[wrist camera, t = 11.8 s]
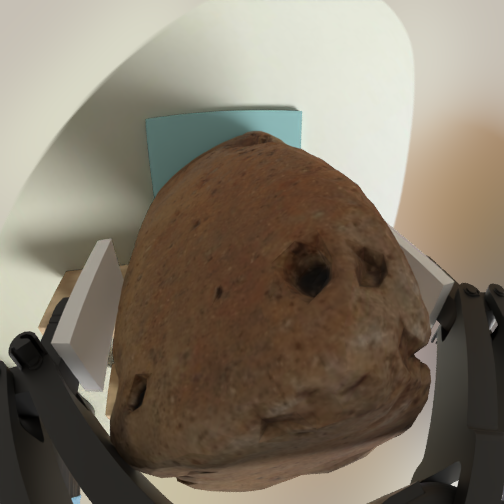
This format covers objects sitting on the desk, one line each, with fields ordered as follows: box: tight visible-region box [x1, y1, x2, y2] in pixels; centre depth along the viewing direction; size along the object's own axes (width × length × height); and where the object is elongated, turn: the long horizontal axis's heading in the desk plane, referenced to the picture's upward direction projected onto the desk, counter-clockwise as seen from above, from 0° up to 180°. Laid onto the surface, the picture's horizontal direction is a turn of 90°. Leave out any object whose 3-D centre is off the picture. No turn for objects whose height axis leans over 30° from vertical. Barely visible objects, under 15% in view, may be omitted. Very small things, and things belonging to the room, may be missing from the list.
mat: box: [145, 110, 302, 199], centre depth 22 cm, size 12×12×1 cm
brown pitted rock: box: [110, 131, 431, 492], centre depth 13 cm, size 11×8×20 cm
